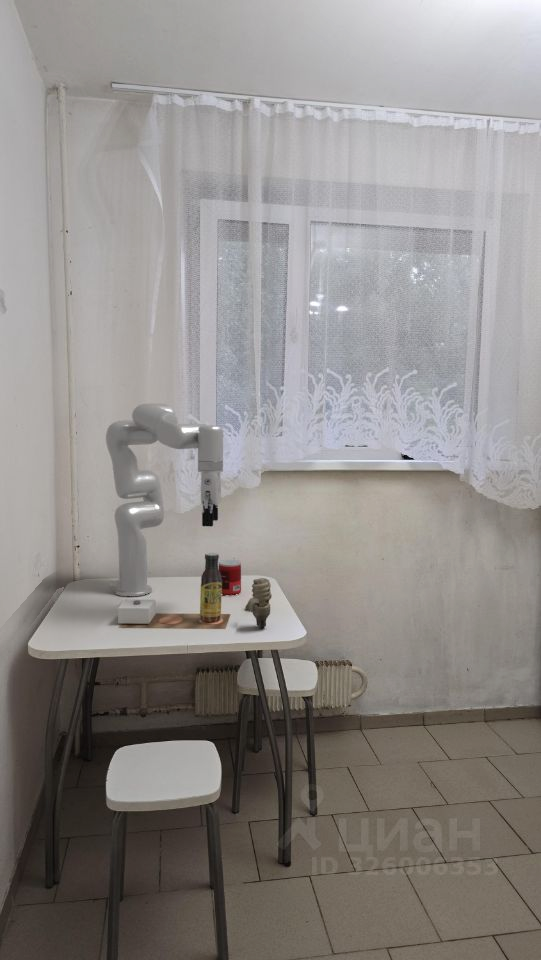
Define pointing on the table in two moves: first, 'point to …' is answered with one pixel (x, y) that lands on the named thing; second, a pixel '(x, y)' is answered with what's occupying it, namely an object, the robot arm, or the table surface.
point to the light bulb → (261, 601)
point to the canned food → (230, 576)
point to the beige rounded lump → (254, 600)
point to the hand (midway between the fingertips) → (210, 523)
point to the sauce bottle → (211, 590)
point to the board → (180, 622)
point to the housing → (136, 611)
